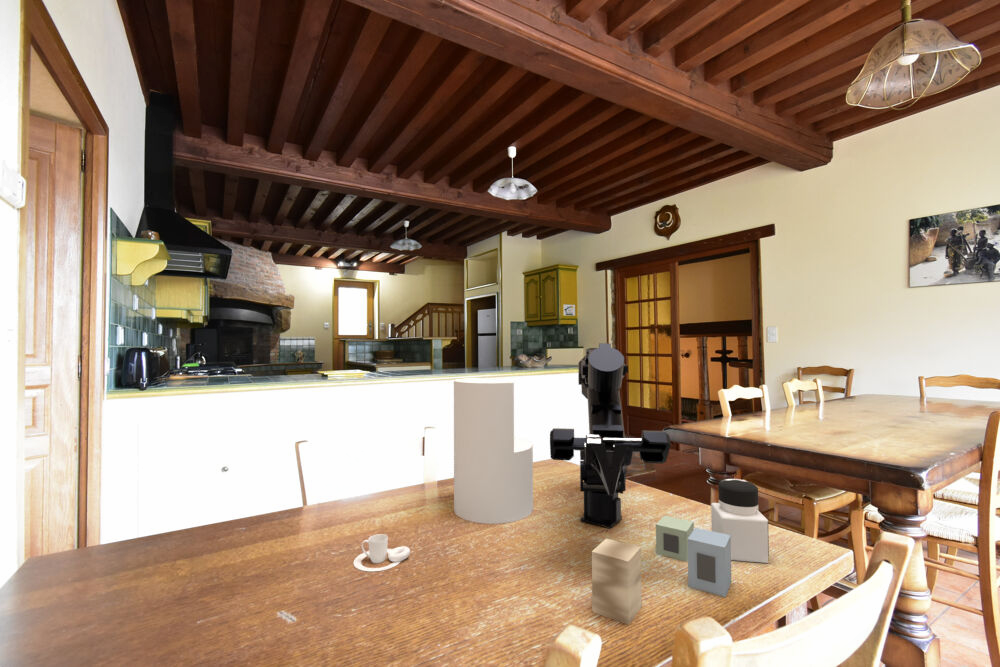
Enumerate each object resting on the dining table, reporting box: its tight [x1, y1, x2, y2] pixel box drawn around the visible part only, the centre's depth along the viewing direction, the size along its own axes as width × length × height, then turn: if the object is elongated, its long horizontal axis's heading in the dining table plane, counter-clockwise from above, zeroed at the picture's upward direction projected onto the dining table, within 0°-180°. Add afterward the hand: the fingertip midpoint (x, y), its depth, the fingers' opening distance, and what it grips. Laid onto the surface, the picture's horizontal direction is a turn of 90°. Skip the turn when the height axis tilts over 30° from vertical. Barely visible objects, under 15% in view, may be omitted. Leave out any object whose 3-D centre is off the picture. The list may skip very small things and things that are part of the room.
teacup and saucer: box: [353, 533, 411, 573], centre depth 75 cm, size 9×8×4 cm
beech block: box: [591, 538, 643, 626], centre depth 61 cm, size 5×5×8 cm
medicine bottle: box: [710, 478, 770, 564], centre depth 78 cm, size 7×7×12 cm
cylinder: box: [453, 377, 534, 525], centre depth 100 cm, size 17×17×28 cm
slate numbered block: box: [687, 527, 732, 598], centre depth 68 cm, size 5×5×7 cm
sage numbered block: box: [655, 515, 695, 562], centre depth 78 cm, size 5×5×5 cm
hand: (611, 494), depth 68 cm, fingers closed
